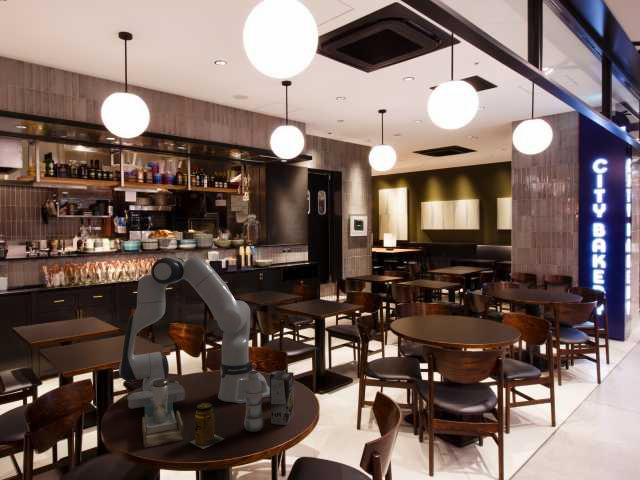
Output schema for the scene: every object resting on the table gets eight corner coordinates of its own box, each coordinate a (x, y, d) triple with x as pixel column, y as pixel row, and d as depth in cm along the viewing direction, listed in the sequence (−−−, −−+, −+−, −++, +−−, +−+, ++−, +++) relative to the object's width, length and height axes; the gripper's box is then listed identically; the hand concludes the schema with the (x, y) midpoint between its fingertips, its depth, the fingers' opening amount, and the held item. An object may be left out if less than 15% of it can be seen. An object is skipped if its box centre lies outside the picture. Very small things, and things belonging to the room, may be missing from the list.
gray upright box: (283, 406, 171) (283, 375, 171) (266, 404, 173) (266, 374, 173) (289, 399, 178) (289, 370, 177) (273, 398, 180) (273, 369, 179)
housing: (178, 424, 155) (178, 410, 155) (183, 440, 143) (183, 424, 143) (142, 431, 150) (142, 416, 150) (144, 447, 138) (144, 432, 138)
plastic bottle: (255, 436, 146) (254, 376, 145) (240, 431, 149) (239, 373, 149) (267, 428, 151) (267, 371, 151) (252, 424, 155) (252, 368, 155)
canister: (167, 416, 157) (167, 378, 157) (168, 422, 152) (168, 382, 152) (151, 419, 155) (152, 379, 155) (152, 424, 150) (153, 384, 150)
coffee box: (287, 425, 154) (287, 380, 154) (270, 424, 155) (270, 379, 155) (294, 414, 163) (294, 372, 163) (277, 413, 164) (277, 371, 164)
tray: (172, 416, 161) (172, 401, 161) (176, 430, 150) (176, 414, 150) (144, 420, 157) (144, 405, 157) (146, 435, 146) (146, 419, 146)
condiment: (189, 442, 142) (189, 405, 142) (211, 433, 148) (211, 398, 148) (202, 449, 137) (202, 411, 137) (224, 439, 144) (224, 403, 143)
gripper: (126, 388, 168) (127, 400, 156) (182, 380, 177) (186, 391, 164) (127, 404, 168) (127, 418, 156) (182, 395, 177) (187, 408, 164)
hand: (158, 404), depth 160 cm, fingers closed
